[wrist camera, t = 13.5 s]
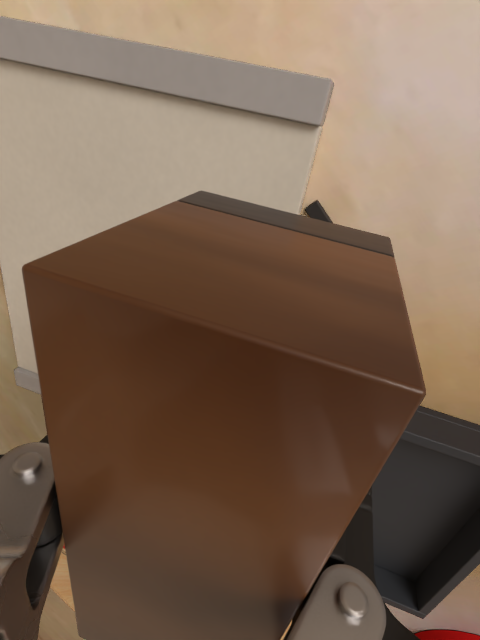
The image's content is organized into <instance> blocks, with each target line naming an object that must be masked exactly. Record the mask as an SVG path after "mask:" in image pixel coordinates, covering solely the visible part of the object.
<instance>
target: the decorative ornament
mask: <svg viewBox="0 0 480 640" xmlns="http://www.w3.org/2000/svg"><path fill="white" fill-rule="evenodd" d="M414 635H416V636H417V637H418V638H419V639H420V640H480V636H478V635H474V634H470V633H465V632H459V631H451V630H429V631H423V632H419V633H416V634H414Z"/></svg>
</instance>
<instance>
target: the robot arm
mask: <svg viewBox="0 0 480 640" xmlns="http://www.w3.org/2000/svg"><path fill="white" fill-rule="evenodd" d="M371 495H372V486H371V488H370V489H369V491H368V493H367V494H366V496H365V498H364V499H363V501H362V503H361V504H360V506H359V508H358V510H357V511H356V513H355V515H354V516H353V518H352V520H351V521H350V523H349V525H348V526H347V528H346V530H345V531H344V533H343V535H342V536H341V538H340V540H339V541H338V543H337V545H336V547H335V548H334V550H333V552H332V553H331V555H330V557H329V558H328V560H327V562H326V563H325V565H324V567H323V568H322V570H321V572H320V573H319V575H318V577H317V578H316V580H315V582H314V583H313V585H312V587H311V589H310V590H309V592H308V594H307V595H306V597H305V599H304V600H303V602H302V604H301V605H300V607H299V609H298V610H297V612H296V614H295V615H294V617H293V619H292V624H291V626H290V627H289V629H288V631H287V633H286V635H285V637H284V638H283V640H420V639H419V638H418V637H417V636H416V635H414V634H413V633H412V632H411V631H409V630H408V629H407V628H406V627H405V626H403V625H402V624H401V623H400V622H399V621H398V620H397V619H396V618H395V617H394V616H393V615H392V613H391V612H390V611H389V609H388V608H387V606H386V605H385V603H384V601H383V600H382V598H381V595H380V593H379V591H378V588H377V585H376V581H375V576H374V550H373V513H372V497H371ZM63 546H64V538H63V531H62V525H61V519H60V512H59V506H58V499H57V493H56V487H55V480H54V474H53V467H52V461H51V454H50V448H49V442H48V435H46V436H45V437H44V438H43V439H42V440H41V441H40V442H34V443H28V444H24V445H21V446H18V447H16V448H14V449H12V450H11V451H9V452H8V453H6V454H5V455H0V640H37V639H38V632H39V623H40V618H41V614H42V610H43V607H44V604H45V601H46V597H47V594H48V591H49V588H50V585H51V582H52V579H53V576H54V573H55V570H56V567H57V564H58V561H59V558H60V555H61V552H62V549H63Z"/></svg>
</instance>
